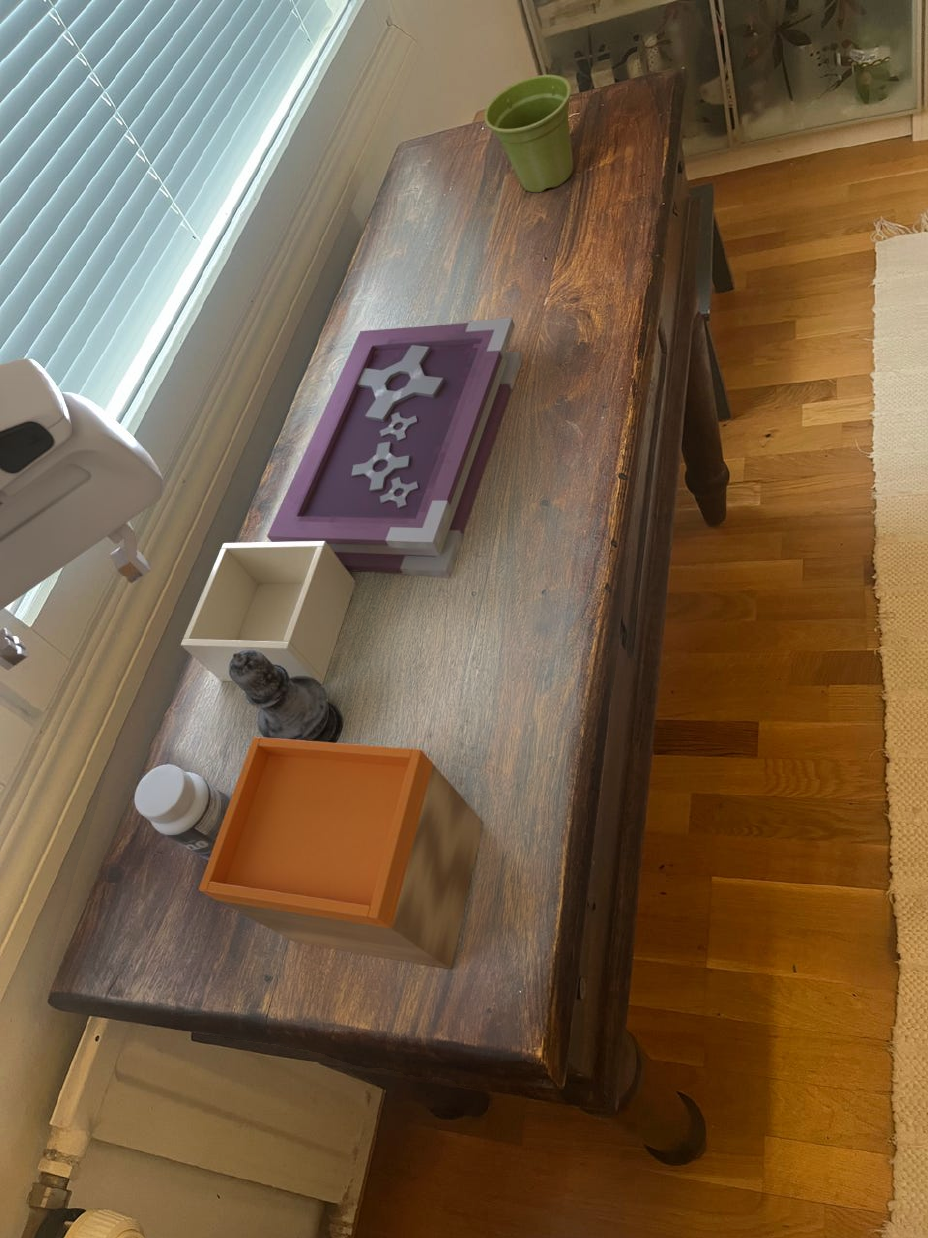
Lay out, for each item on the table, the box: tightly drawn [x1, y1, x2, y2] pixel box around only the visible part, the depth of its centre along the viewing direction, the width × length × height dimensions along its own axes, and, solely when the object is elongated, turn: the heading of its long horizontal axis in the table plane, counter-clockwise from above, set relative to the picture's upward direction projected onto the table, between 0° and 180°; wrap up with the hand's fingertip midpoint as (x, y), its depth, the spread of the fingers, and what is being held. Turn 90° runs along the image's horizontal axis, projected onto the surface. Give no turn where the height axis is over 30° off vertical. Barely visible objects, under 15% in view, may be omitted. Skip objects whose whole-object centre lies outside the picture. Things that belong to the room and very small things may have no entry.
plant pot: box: [483, 74, 574, 193], centre depth 101 cm, size 9×9×9 cm
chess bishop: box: [229, 649, 344, 743], centre depth 69 cm, size 6×6×12 cm
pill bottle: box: [134, 763, 231, 861], centre depth 68 cm, size 5×5×8 cm
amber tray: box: [198, 736, 434, 928], centre depth 56 cm, size 10×12×2 cm
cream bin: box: [180, 541, 357, 686], centre depth 78 cm, size 10×10×6 cm
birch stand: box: [217, 763, 484, 971], centre depth 61 cm, size 10×12×10 cm
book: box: [266, 317, 524, 578], centre depth 84 cm, size 25×16×5 cm, turn 163°
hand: (78, 614), depth 60 cm, fingers open, 8 cm apart
